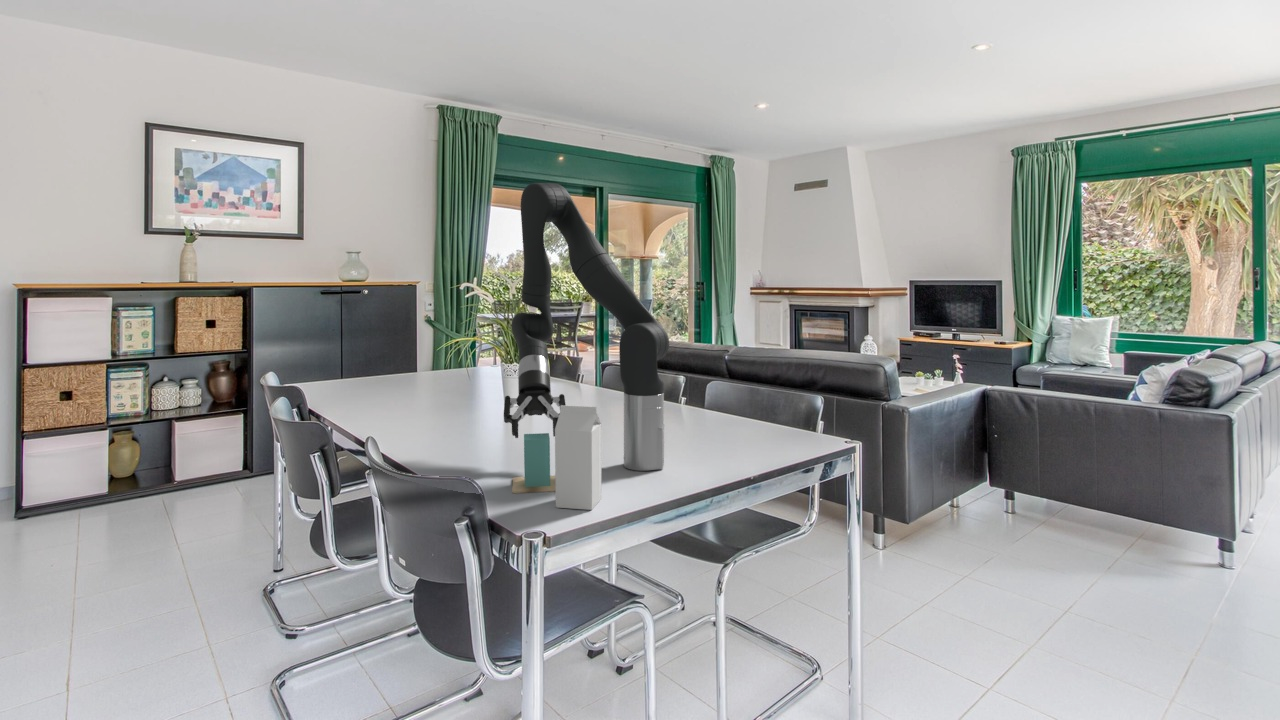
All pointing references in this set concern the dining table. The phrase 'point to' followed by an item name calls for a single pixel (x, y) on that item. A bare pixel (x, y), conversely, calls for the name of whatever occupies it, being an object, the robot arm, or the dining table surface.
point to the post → (520, 487)
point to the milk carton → (578, 457)
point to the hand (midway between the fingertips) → (536, 435)
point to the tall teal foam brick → (537, 459)
